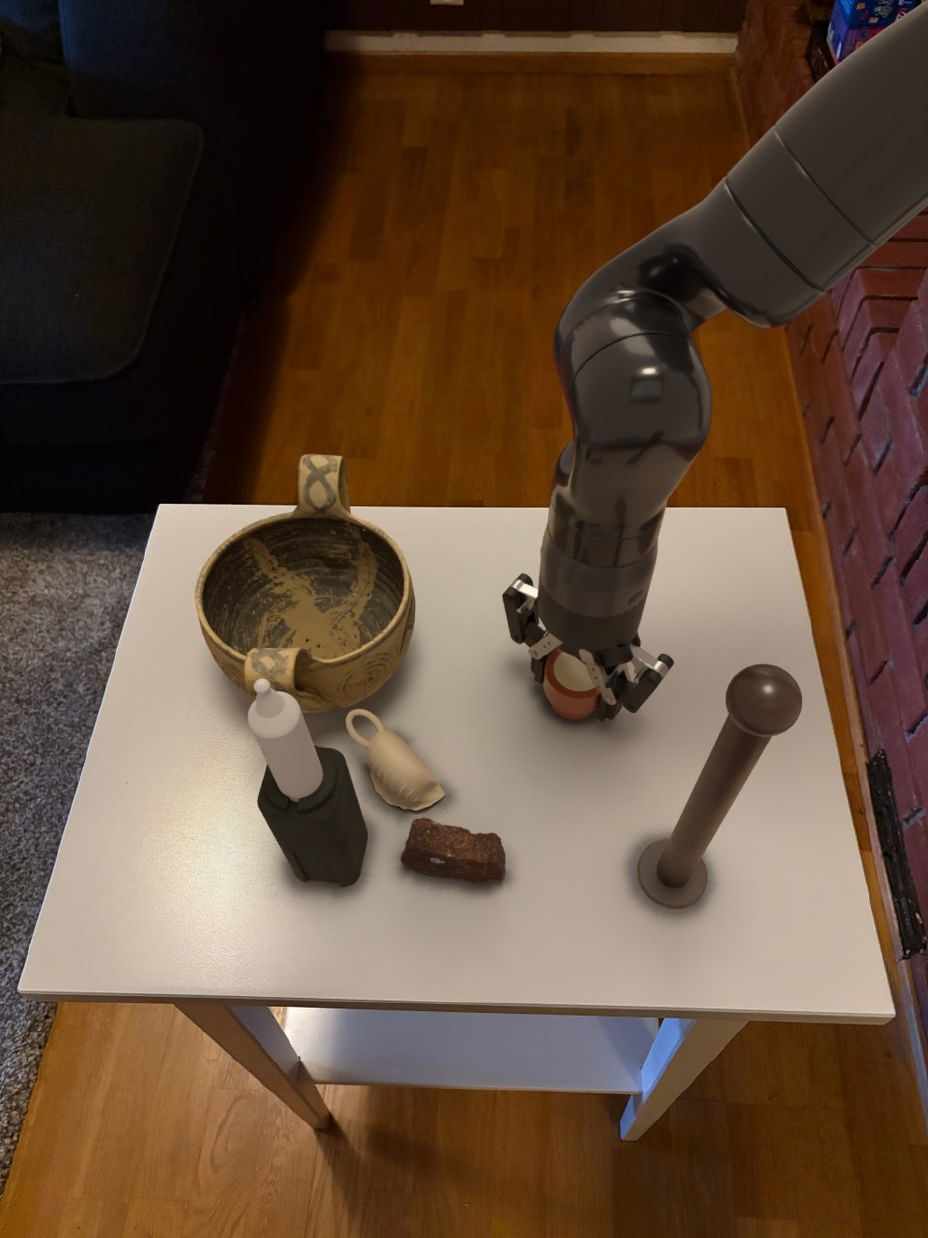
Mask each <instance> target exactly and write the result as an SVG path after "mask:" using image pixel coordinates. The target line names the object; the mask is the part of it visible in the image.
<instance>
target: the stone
mask: <svg viewBox="0 0 928 1238" xmlns="http://www.w3.org/2000/svg"><path fill="white" fill-rule="evenodd" d="M501 840H502V838H501V836H499V835H498V834H497V833H496V832H489V833H484V832H483V833H482V832H478V833H472V831H470V829H468V828H463V827H462V826H457V825H449V824H442V823H441V822H436V821H435V820H432V818H427V817H421V818H414V819H413V820H412V822H411V826H410V829H409V832H408V837H407V839H406V840H405V843H404V844H405V847H404V849H403V851H402V853H401V855H400V862H401V864H402V865H404V866H405V867H407V868H409V869H411V870H415V871H416V872H419V873H424V874H426V875H427V876H436V877H441V878H452V877H453V878H458V879H464V880H466V881H467V882H470V883H474V884H475V883H477V882H478V883H482V882H487V881H500V880H503V879H504V877H505V875H506V851H505V848H504V846H503V842H502V841H501Z"/></svg>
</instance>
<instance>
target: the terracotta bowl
mask: <svg viewBox="0 0 928 1238" xmlns="http://www.w3.org/2000/svg"><path fill="white" fill-rule="evenodd" d="M542 689H543V692H544V694H545V696H546V698H547V700H548V702H549V704H550V706H551V708H552V709H553V710H554V711H555V712H556V713H557V714H558V715H560V716H561V717H563V718H566V719H569V720H582V719H585V718H587V717H589V716H591V715H592V714H593V713H595V711H597V708H598V703H599V699H600V697H601V693H600V690H599V687H598V686H597V685H594V684H592V681H591V678H590V676H589V673H588V670H587V667H586V665H585V664H583V663H582V662H581V661H579V660H578V659H577V658H576V657H574V656H572V655H569V654H567V653H565V652H563V651H562V650H560V649H558V647H557V648H555V649H554V650H553V651H552V652H551V653H550V655H549V656H548V658H547V660H546V663H545V669H544V678H543V684H542Z"/></svg>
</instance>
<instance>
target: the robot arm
mask: <svg viewBox="0 0 928 1238" xmlns="http://www.w3.org/2000/svg"><path fill="white" fill-rule="evenodd" d="M927 207H928V0H925V1H923V2H922V3H920V4H919V5H918V6H916V7H914V8H913V9H912V10H909V12H907V13H906V14H904V15H903V16H901V17H900V18H899V19H897V20H895V21H893V23H891V24H890V25H888V26H887V27H885V28H884V29H882V30H881V31H880V32H879V33H877V34H876V35H874V36H873V37H871V38H870V39H868V40H867V41H866V42H864V43H863V44H861V46H859V47H858V48H857V49H855V50H854V51H853V52H852V53H850V54H848V55H847V56H846V57H845V58H844V59H842V61H841V62H839V63H838V64H837V65H836V66H834V67H833V68H832V69H831V70H830V71H828V72H827V73H825V75H824V76H823V77H821V79H819V80H818V81H816V83H814V85H813V86H811V87H810V88H809V89H808V90H807V91H806V92H805V93H804V94H803V95H802V96H800V98H799V99H798V100H797V101H796V102H794V104H793V105H792V106H791V107H789V109H788V110H787V111H786V112H784V113H783V115H782V116H781V117H780V118H779V119H778V120H777V121H776V122H775V124H774V125H772V126H771V128H770V129H768V130H767V131H766V132H765V134H763V136H761V138H760V139H759V140H758V141H757V142H756V143H755V144H754V145H753V146H752V147H751V148H750V149H749V150H748V151H747V152H746V153H745V154H744V155H743V156H742V157H741V158H740V159H739V161H738V162H737V163H736V164H734V166H733V167H732V168H731V169H730V170H729V171H728V172H727V173H726V176H723V177H722V179H721V180H720V181H719V182H718V183H717V184H716V185H715V186H714V187H713V188H712V190H710V192H709V193H708V194H707V195H706V196H705V197H704V198H703V199H702V200H701V201H700V202H698V203H696V204H695V205H694V206H692V207H690V208H689V209H687V210H686V211H684V212H683V213H680V214H679V215H677V216H676V217H674V218H672V219H670V220H669V221H667V222H665V223H664V224H662V225H660V226H659V227H658V228H656V229H655V230H653V231H652V232H650V233H649V234H647V235H646V236H644V237H643V238H642V239H640V240H638V241H637V242H636V243H634V244H633V245H631V246H630V247H628V248H627V249H625V250H624V251H622V252H621V253H619V254H618V255H616V256H615V257H613V258H612V259H611V260H609V261H608V262H606V263H604V264H603V265H602V266H600V268H598V269H596V270H595V271H594V272H593V273H592V274H591V275H590V276H589V277H588V278H587V279H585V280H584V282H583V283H582V284H581V285H580V286H579V287H578V288H577V290H576V291H575V292H574V293H573V295H572V296H571V297H570V299H569V300H568V301H567V304H566V305H565V307H564V308H563V310H562V312H561V315H559V318H558V321H557V323H556V326H555V328H554V332H553V337H552V356H553V361H554V365H555V369H556V373H557V376H558V379H559V383H560V387H561V389H562V393H563V396H564V399H565V403H566V407H567V410H568V414H569V417H570V421H571V427H572V428H571V429H572V439H571V440H570V441H569V442H568V443H567V444H566V445H565V446H564V447H563V448H562V451H561V452H560V453H559V454H558V458H557V460H556V462H555V466H554V469H553V474H552V478H551V484H550V494H549V504H548V513H547V515H548V516H547V522H546V527H545V529H544V533H543V536H542V541H541V547H540V550H539V551H540V562H539V573H538V585H537V586H538V587H535V586H534V581H533V578H531V576H530V575H529V574H527V573H524V572H522V573H520V574H519V575H518V576H517V578H516V579H514V580H513V581H512V582H511V584H510V585H509V586H508V587H507V589H505V591H504V592H503V593H502V594H501V597H502V602H503V607H504V612H505V617H506V621H507V626H508V632H509V636H510V639H511V640H512V641H513V642H514V643H515V644H517V645H522V644H525V645H526V646H527V647H528V649H527V652H528V654H529V656H530V670H531V673H532V674H534V676H533V677H534V679H533V681H535V682H537V683H538V684H539V685H543V678H544V669H545V663H546V660H547V658H548V656H549V655H550V653H551V652H552V651H553V650H554V649H555V648H557V647H558V649H560V650H562V651H563V652H565V653H567V654H569V655H572V656H574V657H576V658H577V659H578V660H579V661H581V662H582V663H583V664H585V665H586V667H587V670H588V673H589V676H590V678H591V681H592V684H594V685H597V686H598V687H599V690H600V693H601V697H600V699H599V703H598V708H597V709H596V713H595V719H597V720H598V721H600V722H601V723H604V722H606V720H608V721H610V722H611V721H613V720H615V718H616V717H617V716H618V714H619V712H620V711H621V710H622V709H623V708H624V709H625V711H627V712H629V713H630V714H636V713H637V712H638V711H639V710H640V709H641V707H642V706H643V705H644V704H645V703H646V701H647V700H649V698H650V697H651V696H652V694H653V693H654V692H655V691H656V689H658V687H659V685H660V684H661V683H662V682H663V680H664V679H665V677H666V676H667V674H668V673H669V672H670V670H671V669H672V668H673V666H674V665H675V660H674V658H673V657H671V656H670V655H668V654H667V653H660V654H659V655H658V656H657V657H655V656H653V655H652V654H651V653H649V652H647V651H646V649H644V648H642V647H641V646H642V640H641V638H640V636H639V627H640V625H641V621H642V618H643V614H644V609H645V606H646V603H647V599H648V595H649V590H650V587H651V584H652V579H653V575H654V572H655V568H656V565H657V558H658V551H659V548H658V547H659V536H660V533H661V528H662V525H663V522H664V518H665V513H666V510H667V504H668V500H669V498H670V496H671V495H672V494H673V493H674V492H675V490H676V489H677V488H678V486H679V485H680V483H681V482H682V480H683V479H684V478H685V475H686V474H687V473H688V471H689V470H690V468H691V467H692V465H693V464H694V463H695V460H696V459H697V458H698V456H699V454H700V453H701V452H702V449H703V448H704V446H705V443H706V441H707V439H708V435H709V432H710V427H711V423H712V415H713V389H712V385H711V379H710V377H709V374H708V371H707V369H706V367H705V364H704V363H703V359H702V357H701V355H700V353H699V351H698V349H697V346H696V344H695V341H694V339H693V337H692V334H693V333H694V332H695V331H696V330H697V329H698V328H700V327H701V326H702V325H704V324H705V323H707V322H708V321H710V320H711V319H713V318H716V317H717V316H719V315H721V314H723V313H725V312H727V311H731V312H732V313H733V314H734V315H735V316H737V317H738V318H739V319H741V320H742V321H743V322H745V323H747V324H749V325H751V326H754V327H756V328H758V329H759V328H760V329H764V330H765V329H766V330H767V329H776V328H780V327H782V326H785V325H787V324H788V323H790V322H791V321H793V320H795V319H796V318H797V317H799V316H800V315H802V314H803V313H804V312H805V311H807V310H808V309H809V308H811V307H812V306H813V305H814V304H816V302H818V301H819V300H820V299H821V298H822V297H823V296H825V295H826V293H827V292H829V291H831V290H832V289H833V288H834V287H835V286H836V285H837V284H839V283H840V282H841V281H843V279H844V278H846V277H847V276H848V275H849V274H850V273H852V272H853V271H854V270H855V269H856V268H857V267H858V266H860V265H862V263H863V262H864V261H865V260H867V259H868V258H869V257H870V256H871V255H873V253H875V252H876V251H877V250H878V249H879V247H882V246H883V245H884V244H885V243H887V242H888V241H889V240H890V239H891V238H892V237H893V236H895V234H897V233H898V232H899V231H900V230H902V228H904V227H905V226H906V225H907V224H908V223H909V222H911V220H913V219H914V218H915V217H917V216H918V214H920V213H921V212H922V211H923V210H924V209H925V208H927ZM540 621H541V623H542V625H543V627H544V629H543V628H542V627H541V626H540ZM630 662H631V664H632V665H633V667H634V669H633V671H634V674H635V676H634V677H633V681H632V678H631V675H630V672H629V668H628V664H629V663H630Z"/></svg>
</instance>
